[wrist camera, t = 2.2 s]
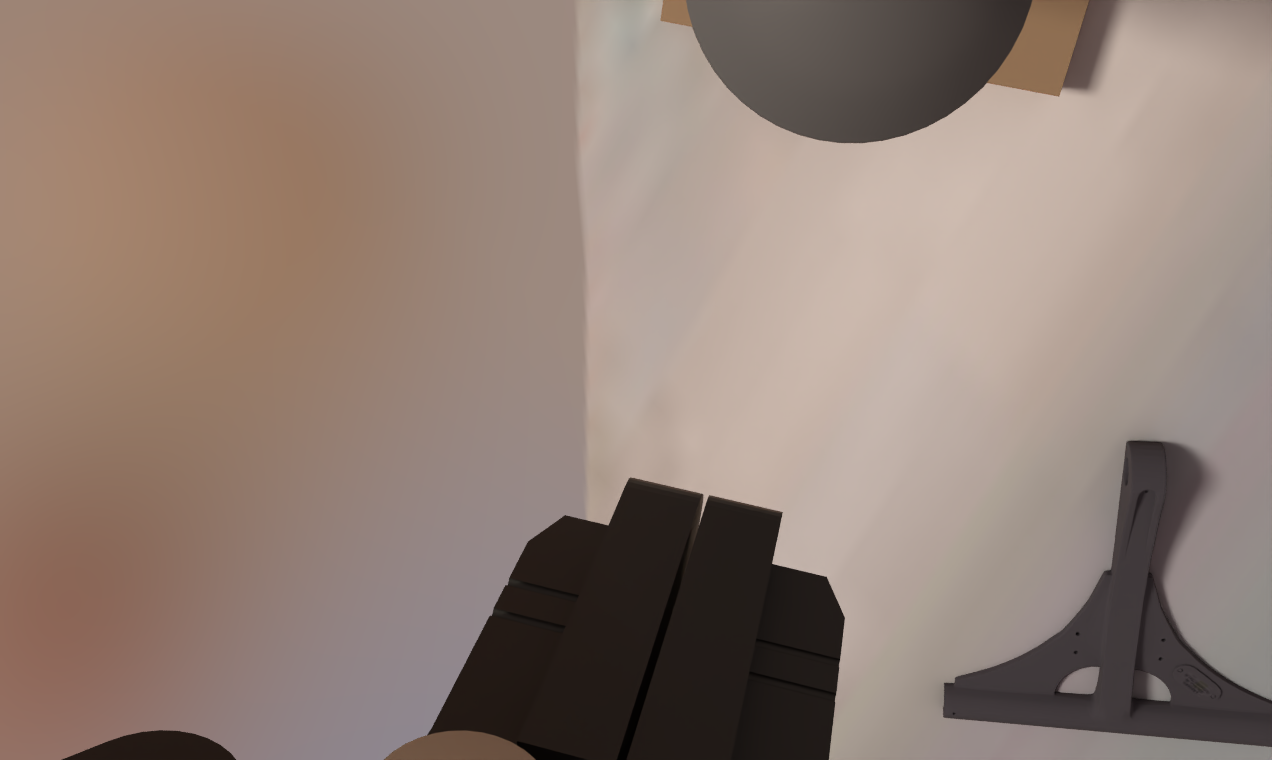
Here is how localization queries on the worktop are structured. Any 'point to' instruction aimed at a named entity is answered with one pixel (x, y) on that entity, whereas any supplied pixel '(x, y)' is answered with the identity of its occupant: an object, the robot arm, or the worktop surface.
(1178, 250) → the worktop surface
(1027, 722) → the bracket
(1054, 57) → the soap dispenser
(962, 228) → the worktop surface
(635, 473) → the worktop surface
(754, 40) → the grey dome cap
